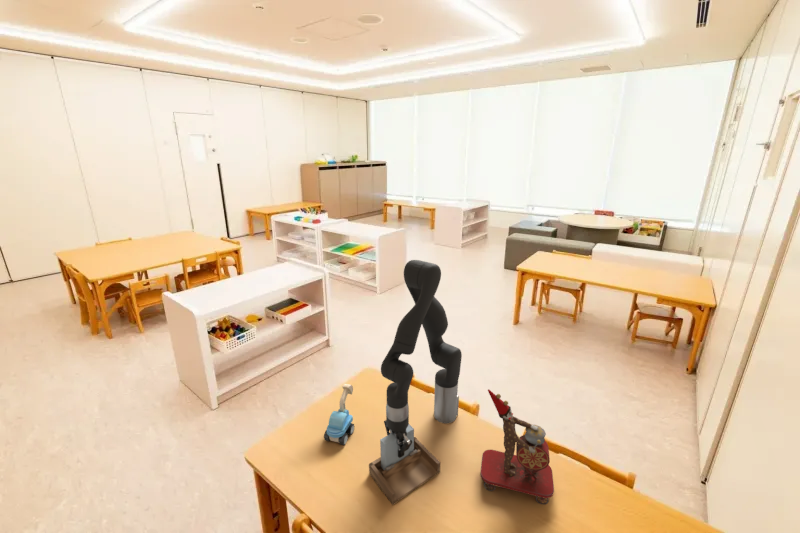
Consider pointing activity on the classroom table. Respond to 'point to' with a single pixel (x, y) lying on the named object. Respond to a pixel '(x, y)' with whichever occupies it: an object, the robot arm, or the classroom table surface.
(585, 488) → the classroom table surface
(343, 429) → the toy excavator
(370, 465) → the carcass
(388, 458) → the blue-gray square slab
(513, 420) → the clown toy
